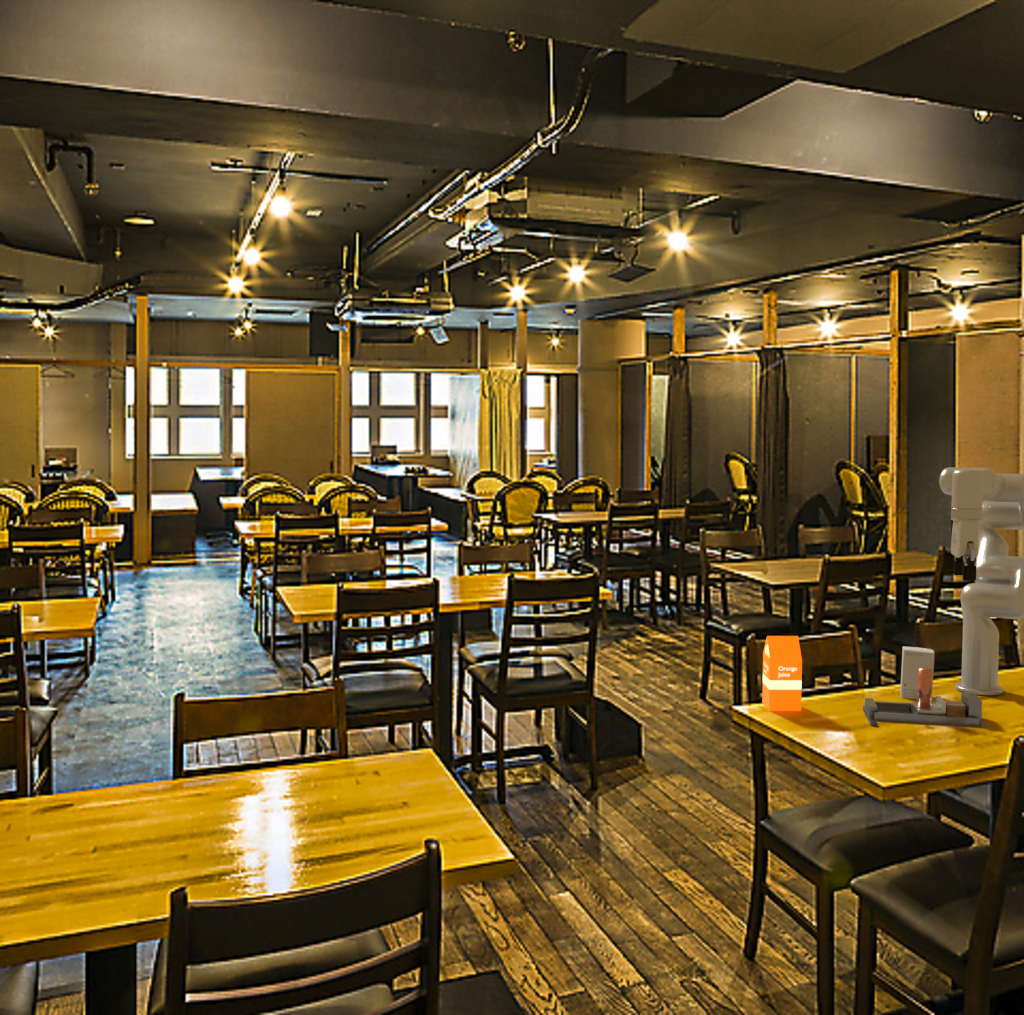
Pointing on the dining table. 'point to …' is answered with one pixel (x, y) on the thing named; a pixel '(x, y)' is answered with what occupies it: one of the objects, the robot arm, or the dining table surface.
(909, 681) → the skincare box
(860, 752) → the dining table surface
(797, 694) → the orange juice
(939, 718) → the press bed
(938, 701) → the ram
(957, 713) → the brown wooden cube
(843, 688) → the dining table surface
